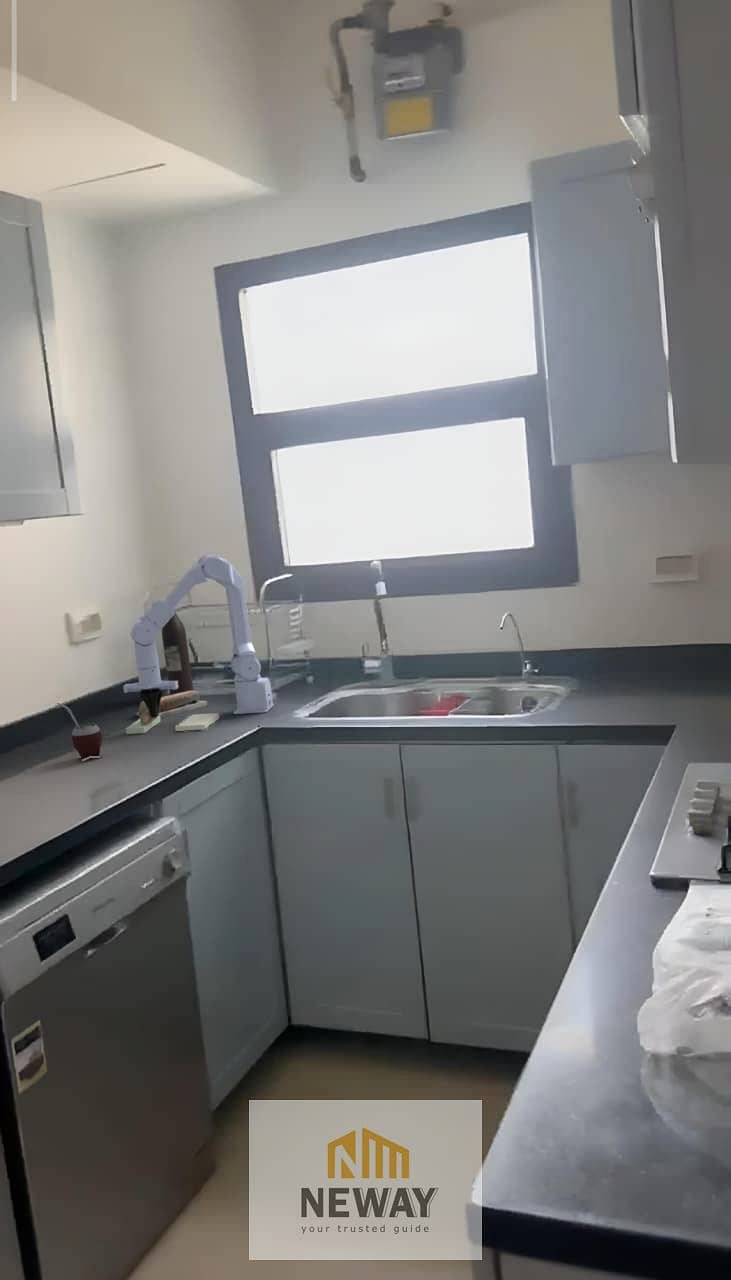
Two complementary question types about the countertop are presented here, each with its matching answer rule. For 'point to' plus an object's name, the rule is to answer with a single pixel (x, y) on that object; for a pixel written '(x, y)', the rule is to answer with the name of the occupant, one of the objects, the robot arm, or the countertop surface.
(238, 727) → the countertop surface
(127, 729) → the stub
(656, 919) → the countertop surface
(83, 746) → the mate gourd
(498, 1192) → the countertop surface
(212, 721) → the block
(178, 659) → the wine bottle
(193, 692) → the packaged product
